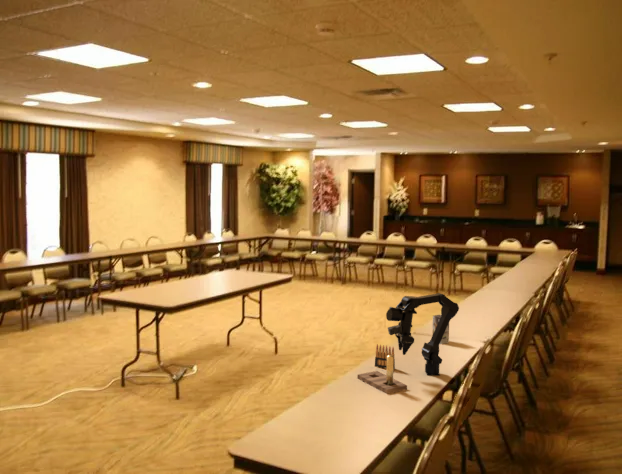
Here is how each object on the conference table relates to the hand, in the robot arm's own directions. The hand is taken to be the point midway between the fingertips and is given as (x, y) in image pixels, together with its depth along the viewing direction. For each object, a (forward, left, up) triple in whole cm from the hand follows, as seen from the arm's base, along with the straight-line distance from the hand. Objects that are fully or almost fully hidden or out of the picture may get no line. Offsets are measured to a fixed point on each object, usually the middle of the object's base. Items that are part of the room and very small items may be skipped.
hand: (401, 352), depth 281 cm
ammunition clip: (+7, -16, -13) cm, 22 cm away
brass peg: (+7, +15, -13) cm, 21 cm away
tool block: (+10, +10, -13) cm, 19 cm away
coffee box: (-31, -70, -13) cm, 77 cm away
